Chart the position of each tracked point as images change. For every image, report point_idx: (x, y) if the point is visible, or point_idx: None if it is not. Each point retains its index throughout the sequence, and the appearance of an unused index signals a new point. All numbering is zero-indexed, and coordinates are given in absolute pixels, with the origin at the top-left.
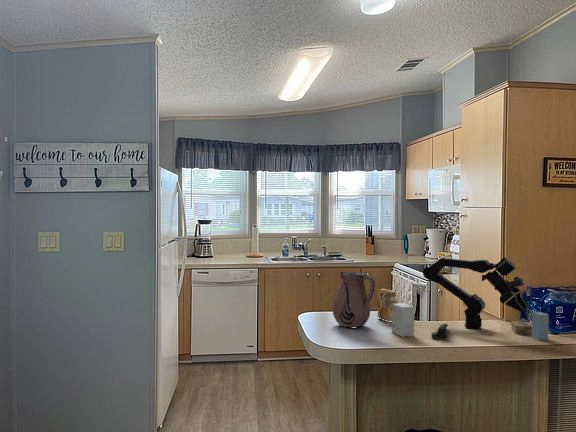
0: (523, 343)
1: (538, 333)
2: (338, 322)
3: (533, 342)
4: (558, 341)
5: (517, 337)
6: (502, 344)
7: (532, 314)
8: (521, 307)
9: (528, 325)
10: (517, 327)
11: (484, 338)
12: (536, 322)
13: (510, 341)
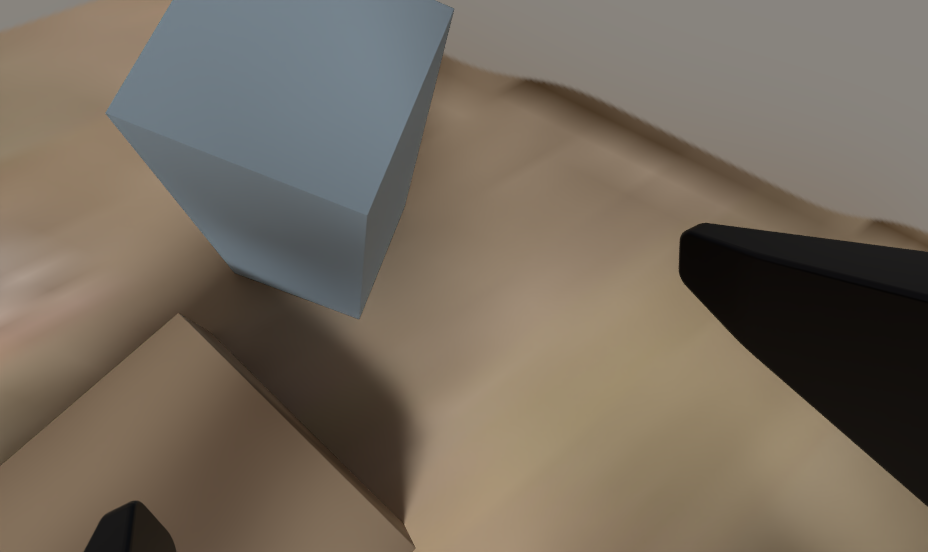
0: (672, 206)
1: (411, 178)
2: None
3: (544, 180)
4: None
5: (536, 384)
6: None
7: (372, 217)
8: (787, 244)
9: (182, 468)
10: (389, 521)
11: (918, 511)
12: (407, 160)
13: None
